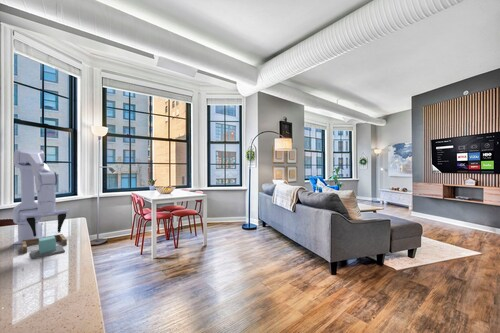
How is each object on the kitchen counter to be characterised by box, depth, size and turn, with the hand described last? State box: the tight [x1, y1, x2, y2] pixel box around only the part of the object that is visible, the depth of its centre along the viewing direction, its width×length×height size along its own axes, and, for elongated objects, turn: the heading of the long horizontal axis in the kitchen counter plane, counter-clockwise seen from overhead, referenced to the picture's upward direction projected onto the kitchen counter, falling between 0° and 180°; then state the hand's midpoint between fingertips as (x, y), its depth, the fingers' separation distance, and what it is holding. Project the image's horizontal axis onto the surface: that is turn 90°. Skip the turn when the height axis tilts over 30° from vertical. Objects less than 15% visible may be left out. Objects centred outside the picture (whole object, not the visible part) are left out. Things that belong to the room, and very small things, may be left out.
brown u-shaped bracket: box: [21, 233, 68, 254], centre depth 108 cm, size 13×14×2 cm
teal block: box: [38, 235, 57, 253], centre depth 99 cm, size 5×5×5 cm
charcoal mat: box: [30, 244, 66, 260], centre depth 99 cm, size 10×10×1 cm
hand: (47, 234), depth 99 cm, fingers open, 7 cm apart
